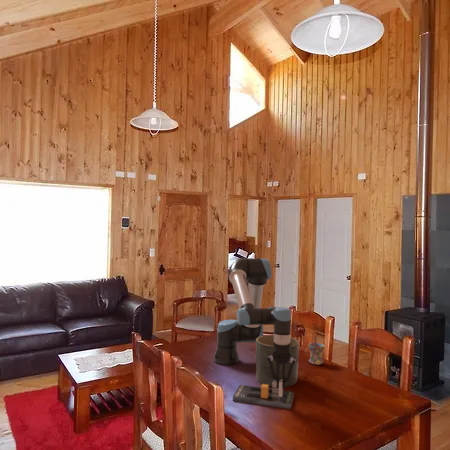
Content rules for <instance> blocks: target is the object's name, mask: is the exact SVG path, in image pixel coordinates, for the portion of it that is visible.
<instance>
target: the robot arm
mask: <svg viewBox="0 0 450 450" xmlns="http://www.w3.org/2000/svg"><path fill="white" fill-rule="evenodd" d="M270 262H271V261H269V259H267V258H261V257H260V258H259V257H257V258H245V257H240V258H238V259H236V260H235V261H233V262H232V264H231V265H230V266H229V268H228V271H227V272H228V273H227V274H228V280H229V282H230V283H231V284H232V287H233V291H234V295H235V298H236V302H237V306H238V309H237V311H236V319H223V320H221V321H220V322H218V324H217V330H216V333H217V335H216V339H217V340H216V349H215V352H214V355H213V362H215V363H216V364H219V365H225V366H230V365H236V364H238V363H240V356H239V355H240V354H239V352H238V351H239V350H238V348H237V345H238V343H241V344H242V343H243V344H244V343H245V344H246V343H252V344H253V343H256V339H257V338H258V337H260V336H264V335H263V334H264V326H265V325H272V326H273V335H274V343H273V354H272V355H271V356H268V358H267V360H268V362H269V364H270V369H271V373H272V378H273V379H275V380H276V381H277V385H276V387H277V388H279V397H282V395H283V391H284V390H285V389H286V387H285V382H286V381H289V379H290V375H291V372H292V368H293V365H294V364H295V362H296V359H293V358H292V357H291V354H290V338H291V337H292V336H291V335H292V334H291V328H292V326H291V325H292V323H291V322H292V313H291V312H292V311H291V309H290V308H288V307H284V306H283V307H281V306H279V307H278V306H277V307H276V306H269V307H268V308H267V307H266V308H264V307H263V308H262V299H263V292H264V287H265V285H266V284H267V283H268V280H270V279H272V275H273V274H272V273H273V272H272V266H271V263H270ZM273 358H274V360H275V361H276V363H277V376H276V374H275V369H274V365H273ZM289 360H290V363H291V365H290V368H289V372H288V375H287V377H286V363H287V362H288V361H289ZM280 364H282V367H283V371H282V380H280Z"/></svg>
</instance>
